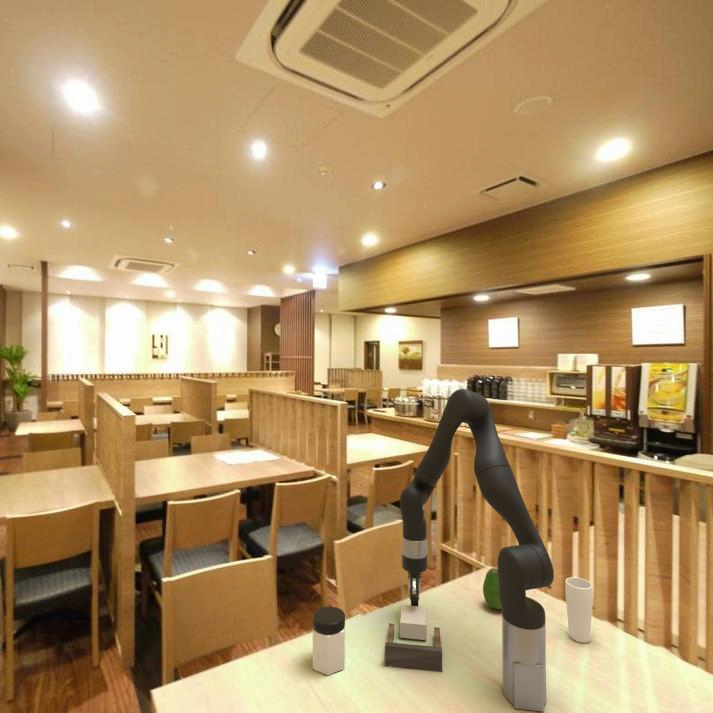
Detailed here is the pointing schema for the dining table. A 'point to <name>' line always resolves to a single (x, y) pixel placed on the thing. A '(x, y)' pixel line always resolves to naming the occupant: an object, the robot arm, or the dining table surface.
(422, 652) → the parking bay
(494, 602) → the avocado
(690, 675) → the dining table surface
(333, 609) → the jar
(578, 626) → the drinking glass
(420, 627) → the white rectangular block
